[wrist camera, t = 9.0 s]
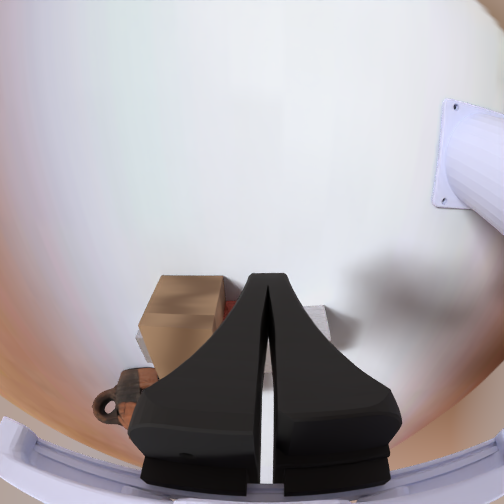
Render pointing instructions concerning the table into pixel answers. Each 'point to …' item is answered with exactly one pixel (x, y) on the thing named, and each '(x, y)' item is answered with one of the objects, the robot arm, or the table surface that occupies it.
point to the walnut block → (181, 318)
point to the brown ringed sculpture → (124, 396)
